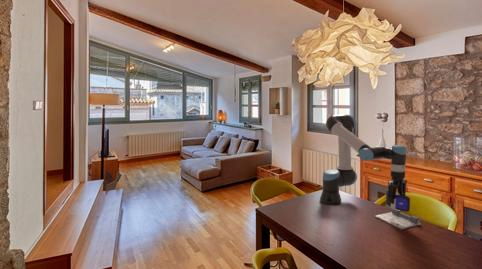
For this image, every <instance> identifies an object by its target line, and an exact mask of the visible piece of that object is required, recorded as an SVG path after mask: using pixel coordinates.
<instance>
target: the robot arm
mask: <svg viewBox="0 0 482 269" xmlns="http://www.w3.org/2000/svg"><path fill="white" fill-rule="evenodd" d="M325 122H326V123H325V126H326V128H327V130H328V131H329V132H330V133H331V134H332V135H336V136H337V138H338V166H337V167H336V169H326V170H324V171H323V173H322V191H321V195H320V197H319V201H320V203H322V204H324V205H328V206H338V205H341V204H342V197H341V194H340V187H341V188H342V187H346V186H352V185H355V183H356V182H357V181H358V180H357V179H358V175H357V172H356V171H355V169H354V167H353V166H352V149H353V150H354V151H355V152H356V153H357V154H358V157H359V159H360V161H364V162H370V161H375V160H381V159H385V160H390V161H391V162H390V177H391V180H390V181H387V190H388V197H390V198H391V207H390V209H396V199H395V196H396V192H397V193H400V194H403V195H405V196H406V194H407V192H406V189H407V182H408V180H407V179H405V178H406V172H405V171H406V163H407V162H406V161H407V147H406V146H405V145H401V144H394V145H392V146H391V147H389V146H384V145H376V146H375V147H374V146H373V147H371V146H369V145H368V144H367V143H366V142H364V141H363V140H362V139H360V138H359V137H358V136H357V135H355V134H354V133H353V130H354V129H355V128H356V126H357V121H356V119H355V117H354V116H353V115H351V114H332V115H330V116H329V117H328V118H327V119H326V121H325Z"/></svg>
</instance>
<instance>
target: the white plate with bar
mask: <svg viewBox="0 0 482 269" xmlns="http://www.w3.org/2000/svg"><path fill="white" fill-rule="evenodd" d="M375 218H376V219H378V220H380V221H381V222H384V223H386V224H389V225H390V226H393V227H395V228H397V229H399V230H404V229H405V230H406V229H408V228H409V229H410V228H413V227H416V226H420V225H421V219H420V217H418V216H415V215H409V214H406V213H405V212H403V211H400V210H397V209H393V208H391V211H390V212H386V213H381V214H377V215H375Z"/></svg>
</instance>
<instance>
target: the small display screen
mask: <svg viewBox="0 0 482 269" xmlns="http://www.w3.org/2000/svg"><path fill="white" fill-rule="evenodd" d="M395 199H396V209H397V210H400V211H401V212H404V213H405V212H406V213H407V212H410V209H411V206H410V205H411V198H410V197H409V196H408V195H406V194H405V195H403V194H400V193H398V191H396V196H395ZM385 203H386V205H387V206H389V207H390V208H391V198H390V197H388V189H386V191H385Z"/></svg>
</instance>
